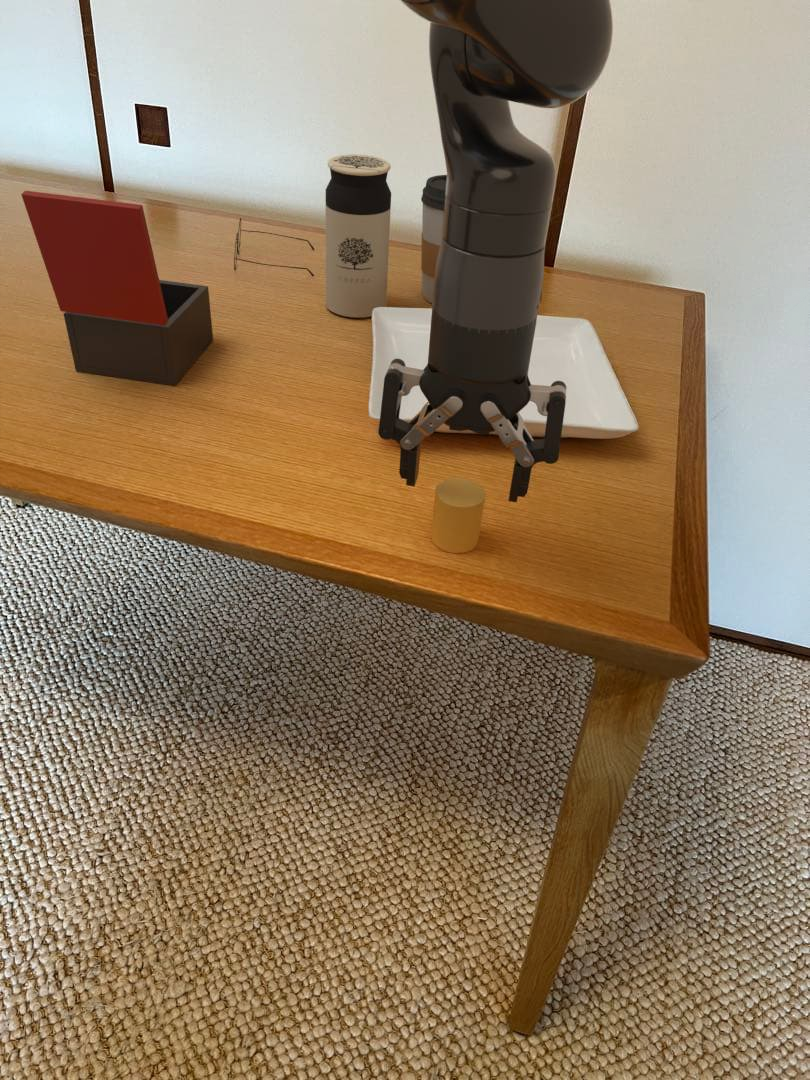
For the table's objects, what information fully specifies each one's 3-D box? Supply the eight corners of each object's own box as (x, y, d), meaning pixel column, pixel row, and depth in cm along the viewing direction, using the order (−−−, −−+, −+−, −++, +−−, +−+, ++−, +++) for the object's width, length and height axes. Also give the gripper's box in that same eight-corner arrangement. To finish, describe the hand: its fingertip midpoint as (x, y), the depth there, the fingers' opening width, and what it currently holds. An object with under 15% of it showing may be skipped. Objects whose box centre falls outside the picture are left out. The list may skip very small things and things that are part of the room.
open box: (122, 328, 99) (112, 273, 95) (213, 340, 98) (208, 286, 93) (75, 371, 90) (63, 313, 86) (175, 386, 89) (167, 327, 85)
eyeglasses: (314, 247, 124) (314, 213, 121) (314, 279, 114) (313, 243, 111) (239, 245, 123) (237, 211, 119) (232, 277, 113) (230, 241, 110)
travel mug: (337, 291, 111) (338, 150, 100) (393, 301, 110) (400, 159, 99) (316, 313, 105) (315, 166, 94) (375, 324, 104) (381, 175, 93)
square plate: (634, 459, 83) (643, 427, 80) (366, 448, 81) (367, 414, 79) (585, 342, 104) (591, 313, 101) (371, 331, 102) (372, 301, 100)
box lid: (24, 190, 76) (20, 194, 76) (142, 204, 75) (139, 208, 74) (63, 307, 86) (60, 311, 85) (168, 321, 84) (165, 326, 84)
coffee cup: (446, 281, 117) (457, 170, 107) (486, 301, 112) (501, 187, 102) (401, 293, 112) (408, 178, 103) (441, 314, 108) (452, 197, 98)
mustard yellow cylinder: (443, 557, 69) (448, 511, 66) (423, 528, 72) (427, 482, 69) (486, 547, 71) (494, 501, 67) (465, 519, 73) (471, 473, 70)
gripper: (376, 311, 55) (369, 502, 66) (586, 338, 54) (545, 529, 64) (396, 271, 61) (387, 452, 71) (586, 295, 60) (549, 476, 70)
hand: (462, 488), depth 68 cm, fingers open, 8 cm apart
